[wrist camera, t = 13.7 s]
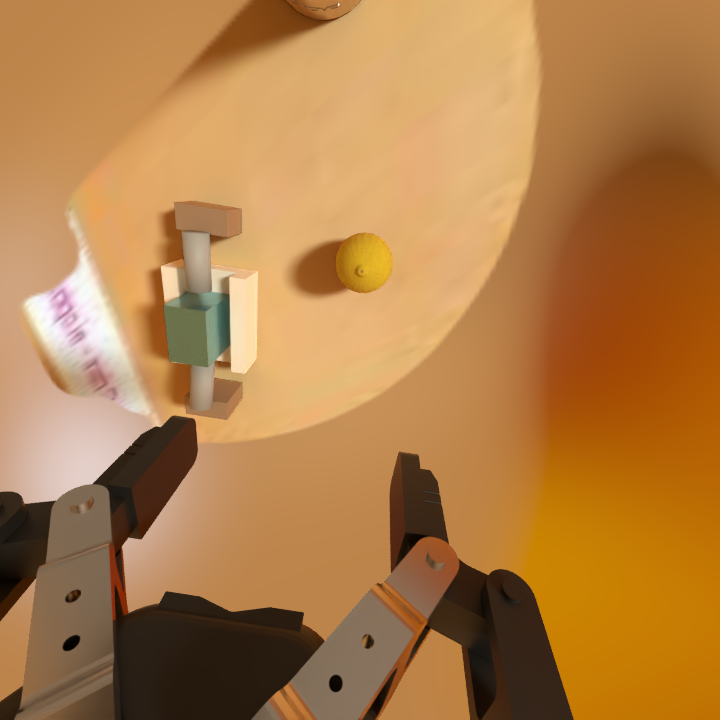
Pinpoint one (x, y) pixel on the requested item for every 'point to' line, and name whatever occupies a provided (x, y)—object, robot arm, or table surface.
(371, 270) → the lemon
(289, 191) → the table surface
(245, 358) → the shaft rig
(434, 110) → the table surface
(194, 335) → the green rectangular block
